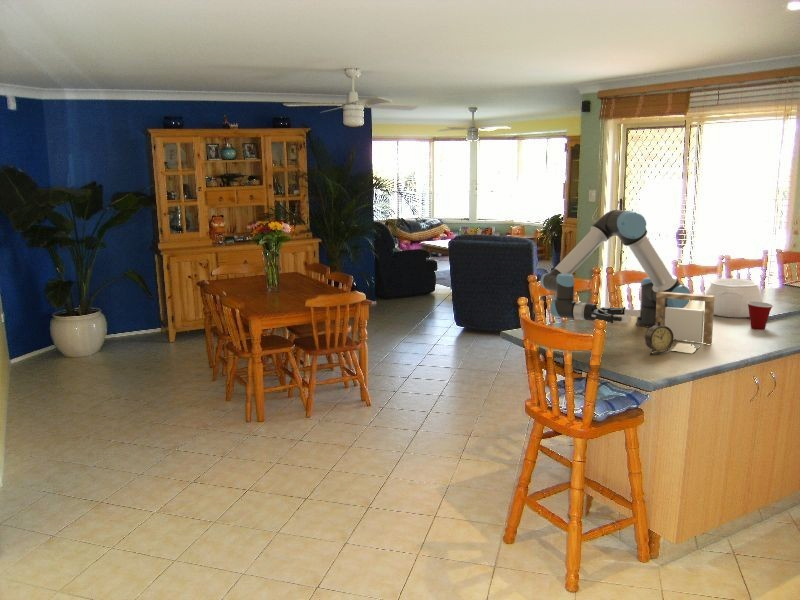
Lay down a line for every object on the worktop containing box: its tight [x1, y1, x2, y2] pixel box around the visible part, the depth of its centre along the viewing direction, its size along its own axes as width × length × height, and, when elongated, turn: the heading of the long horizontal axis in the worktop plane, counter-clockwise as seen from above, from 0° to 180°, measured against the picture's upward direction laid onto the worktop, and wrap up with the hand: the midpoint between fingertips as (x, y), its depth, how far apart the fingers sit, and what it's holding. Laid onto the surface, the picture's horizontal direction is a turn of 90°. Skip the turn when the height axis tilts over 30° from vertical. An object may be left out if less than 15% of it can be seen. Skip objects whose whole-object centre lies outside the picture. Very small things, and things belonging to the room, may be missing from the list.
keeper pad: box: [689, 342, 702, 349], centre depth 288 cm, size 9×14×1 cm, turn 144°
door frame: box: [656, 291, 715, 345], centre depth 298 cm, size 23×4×21 cm, turn 54°
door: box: [665, 307, 705, 344], centre depth 299 cm, size 15×2×14 cm, turn 55°
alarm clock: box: [644, 315, 674, 353], centre depth 282 cm, size 11×5×16 cm, turn 105°
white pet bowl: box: [705, 278, 764, 319], centre depth 347 cm, size 29×26×16 cm
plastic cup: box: [747, 301, 774, 331], centre depth 316 cm, size 11×11×12 cm
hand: (635, 316), depth 286 cm, fingers open, 13 cm apart
